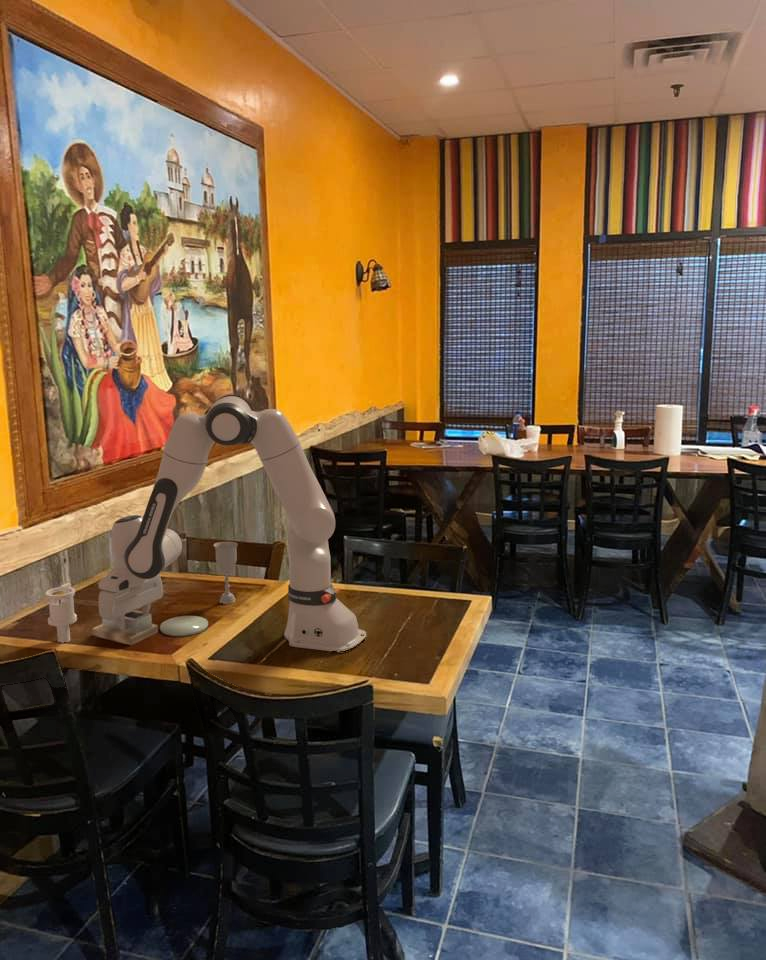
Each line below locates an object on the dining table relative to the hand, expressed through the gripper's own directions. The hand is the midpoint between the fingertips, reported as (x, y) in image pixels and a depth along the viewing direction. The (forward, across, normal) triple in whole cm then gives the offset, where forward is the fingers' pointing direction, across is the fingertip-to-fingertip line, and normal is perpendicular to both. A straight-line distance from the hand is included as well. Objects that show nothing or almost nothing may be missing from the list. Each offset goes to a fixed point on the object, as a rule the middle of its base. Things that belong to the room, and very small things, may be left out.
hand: (134, 624), depth 205 cm
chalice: (+4, -33, +6) cm, 34 cm away
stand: (+3, 0, -3) cm, 5 cm away
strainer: (+4, +11, -14) cm, 18 cm away
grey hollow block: (+1, 0, -2) cm, 3 cm away
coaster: (+3, -11, +8) cm, 14 cm away
